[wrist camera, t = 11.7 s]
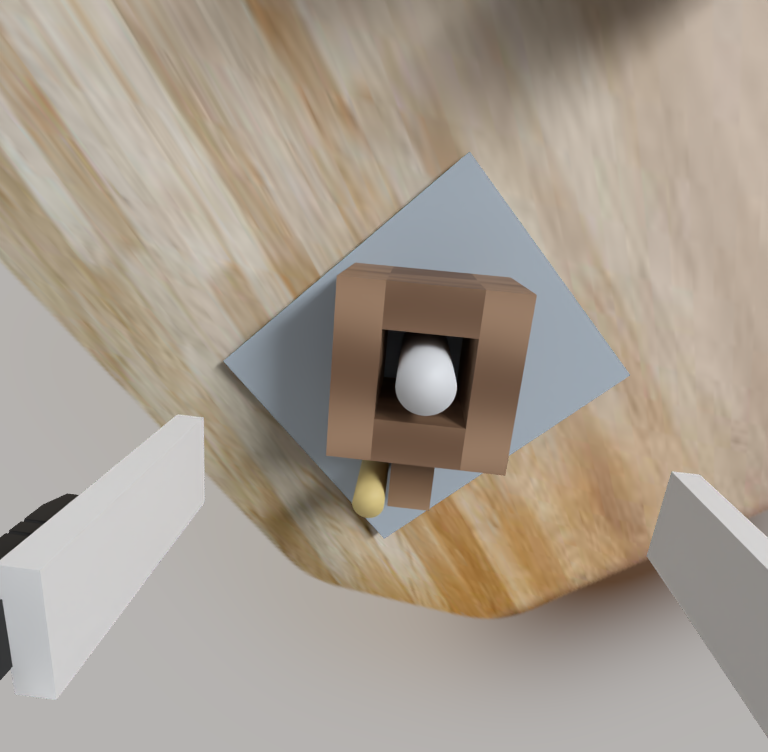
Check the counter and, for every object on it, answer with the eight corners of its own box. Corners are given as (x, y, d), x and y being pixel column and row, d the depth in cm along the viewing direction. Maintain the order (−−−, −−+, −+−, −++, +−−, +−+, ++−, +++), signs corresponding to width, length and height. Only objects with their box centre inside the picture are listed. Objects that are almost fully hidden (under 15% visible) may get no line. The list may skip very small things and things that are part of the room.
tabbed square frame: (355, 262, 30) (336, 275, 23) (510, 277, 30) (536, 295, 23) (341, 463, 34) (321, 524, 27) (478, 479, 34) (493, 544, 27)
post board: (229, 356, 34) (162, 405, 25) (467, 154, 29) (488, 127, 20) (385, 528, 37) (374, 627, 28) (622, 369, 32) (698, 426, 23)
